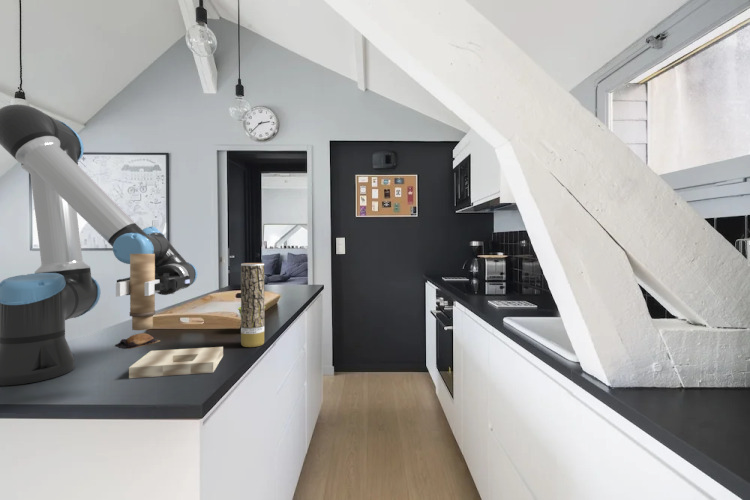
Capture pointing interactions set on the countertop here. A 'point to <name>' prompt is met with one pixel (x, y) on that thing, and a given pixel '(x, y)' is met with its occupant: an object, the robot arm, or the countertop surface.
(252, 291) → the paper tube
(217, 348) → the board
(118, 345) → the brown beetle
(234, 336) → the countertop surface
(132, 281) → the peg
